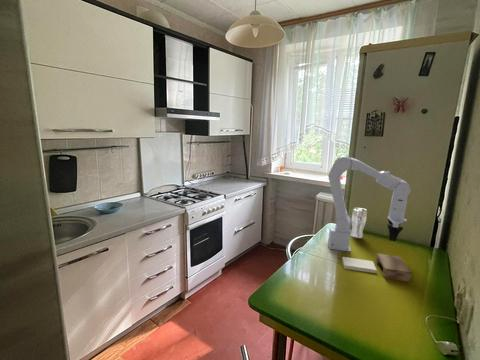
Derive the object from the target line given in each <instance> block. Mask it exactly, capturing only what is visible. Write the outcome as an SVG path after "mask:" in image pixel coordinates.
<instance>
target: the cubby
mask: <svg viewBox="0 0 480 360" xmlns="http://www.w3.org/2000/svg"><path fill="white" fill-rule="evenodd" d="M375 257H376V258H375V264H376V265H381V266H382V269H383V270H382V277H383V278H384V279H390V280H395V281H396V280H397V281H403V282H409V283H410V282H411V279H412V278H411V277H412V273H413V272H412V271H411V269H410V268H409V266H408V265H407V264H406V263H405V261H404V259H403V258H402V257H401V256H398V255H390V254H383V253H376V256H375Z"/></svg>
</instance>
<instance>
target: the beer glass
mask: <svg viewBox="0 0 480 360" xmlns="http://www.w3.org/2000/svg"><path fill="white" fill-rule="evenodd" d="M367 215H368V210H367V209H366V208H362V207H358V206H357V207H353V208H352V213H351V235H350V237H352V238H355V239H363V238H364V237H363V236H364V234H363V233H364V228H365V225H366V222H367Z"/></svg>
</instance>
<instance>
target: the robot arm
mask: <svg viewBox="0 0 480 360" xmlns="http://www.w3.org/2000/svg"><path fill="white" fill-rule="evenodd" d="M348 170H351V171H356V170H357V171H360V172H362V173H364V174H366V175H367V176H370V177H372V178H374V179H375V182H376V183H377V184H379V185H381V186H383V187H384V188H386V189H388V190H391V191H392V196H391V201H390V206H389V210H388V211H389V212H388V216H387V221H388V223H387V225H386V226H387V228H388V233H389V234H388V237H389V241H391V242H396V240H397V239H398V236H399V235H400V233H401V231H403V229H404V227H402V226H400V225H401V224H402V223H406V222H407V221H408V219H407V218H405V215H406V208H407V205H408V204H407V203H408V197H409V195H410V193H411V191H412V190H411V186H410V184H409V183H408V182H407V181H405V180H404V179H402V178H401V177H397V176H395V175H393V174H391V171H389V170H388V171H385V170H381V171H379V170H377V169H375V168H373V167H371V165H370V166H369V164H366V163H365V162H364V161H363V162H362V161H361V160H359V159H356V158H354V157H350V156H349V155H347V154H342V155H340V156H338V157H337V158H336V160H334V162H333V164H332V166H331V169H330V171H329V173H328V176H327V177H328V181H329V186H330V191H331V194H332V199H333V200H332V201H333V205H334V208H335V215H336V216H335V217H336V223H335V226H334V227H331V228H329V231H328V238H327V243H328V248H329V250H336V251H341V252H342V251H343V252H352V250H351V247H350V243H351V242H350V240H351V231H352V217H350V215H349V214H348V209H347V207H346V206H347V205H346V203H345V197H344V193H343V186H342V183H341V176H342V175H343V174H344V173H345V172H346V171H348Z"/></svg>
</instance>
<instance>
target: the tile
mask: <svg viewBox="0 0 480 360" xmlns="http://www.w3.org/2000/svg"><path fill="white" fill-rule="evenodd" d="M341 262H342V265H343V269H346V270H352V271H360V272H365V273H370V274H371V273H372V274H377V272H378V271H377V270H378V269H377V267H376V266H375V263H374V261H373V260H367V259H360V258H353V257H346V256H342V258H341Z"/></svg>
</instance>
